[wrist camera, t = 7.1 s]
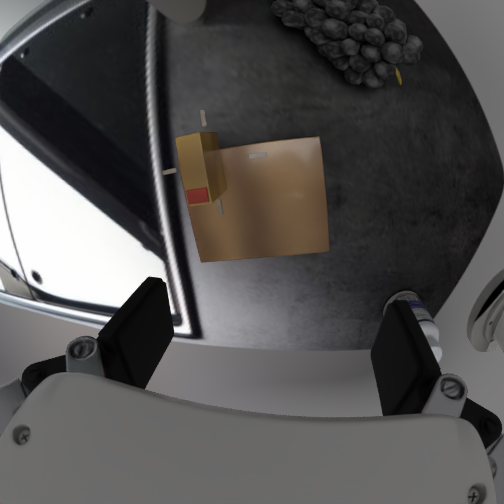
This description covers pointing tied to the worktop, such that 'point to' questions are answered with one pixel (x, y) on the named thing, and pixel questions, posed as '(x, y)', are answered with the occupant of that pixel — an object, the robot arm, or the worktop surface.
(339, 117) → the worktop surface
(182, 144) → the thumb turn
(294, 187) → the brown flat block
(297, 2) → the fruit
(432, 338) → the pill bottle
